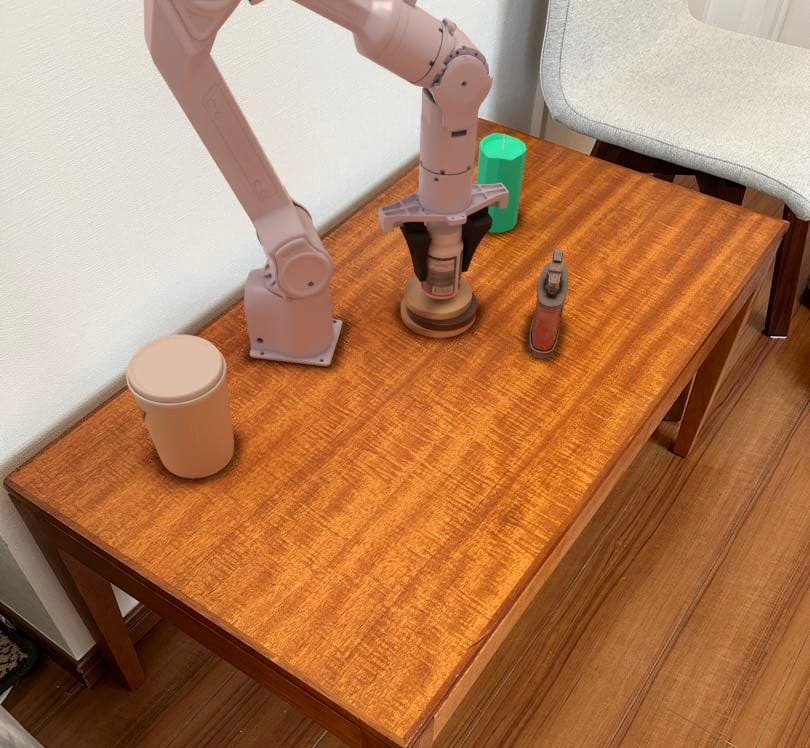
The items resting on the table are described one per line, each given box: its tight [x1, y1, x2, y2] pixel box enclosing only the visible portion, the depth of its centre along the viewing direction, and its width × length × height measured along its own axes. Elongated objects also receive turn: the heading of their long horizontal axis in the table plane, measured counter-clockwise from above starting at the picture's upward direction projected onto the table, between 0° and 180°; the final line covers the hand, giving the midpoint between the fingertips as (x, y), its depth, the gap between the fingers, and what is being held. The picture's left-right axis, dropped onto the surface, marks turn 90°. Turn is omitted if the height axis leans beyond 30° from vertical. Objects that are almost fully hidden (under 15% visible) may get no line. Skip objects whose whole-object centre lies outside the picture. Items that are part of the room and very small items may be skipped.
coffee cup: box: [125, 334, 235, 479], centre depth 85 cm, size 9×9×12 cm
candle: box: [475, 132, 527, 234], centre depth 111 cm, size 6×6×12 cm
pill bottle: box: [421, 222, 463, 299], centre depth 97 cm, size 5×5×8 cm
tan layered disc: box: [400, 274, 479, 339], centre depth 102 cm, size 9×9×3 cm
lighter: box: [528, 248, 570, 359], centre depth 97 cm, size 8×3×10 cm, turn 169°
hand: (440, 272), depth 99 cm, fingers closed on pill bottle, 5 cm apart
